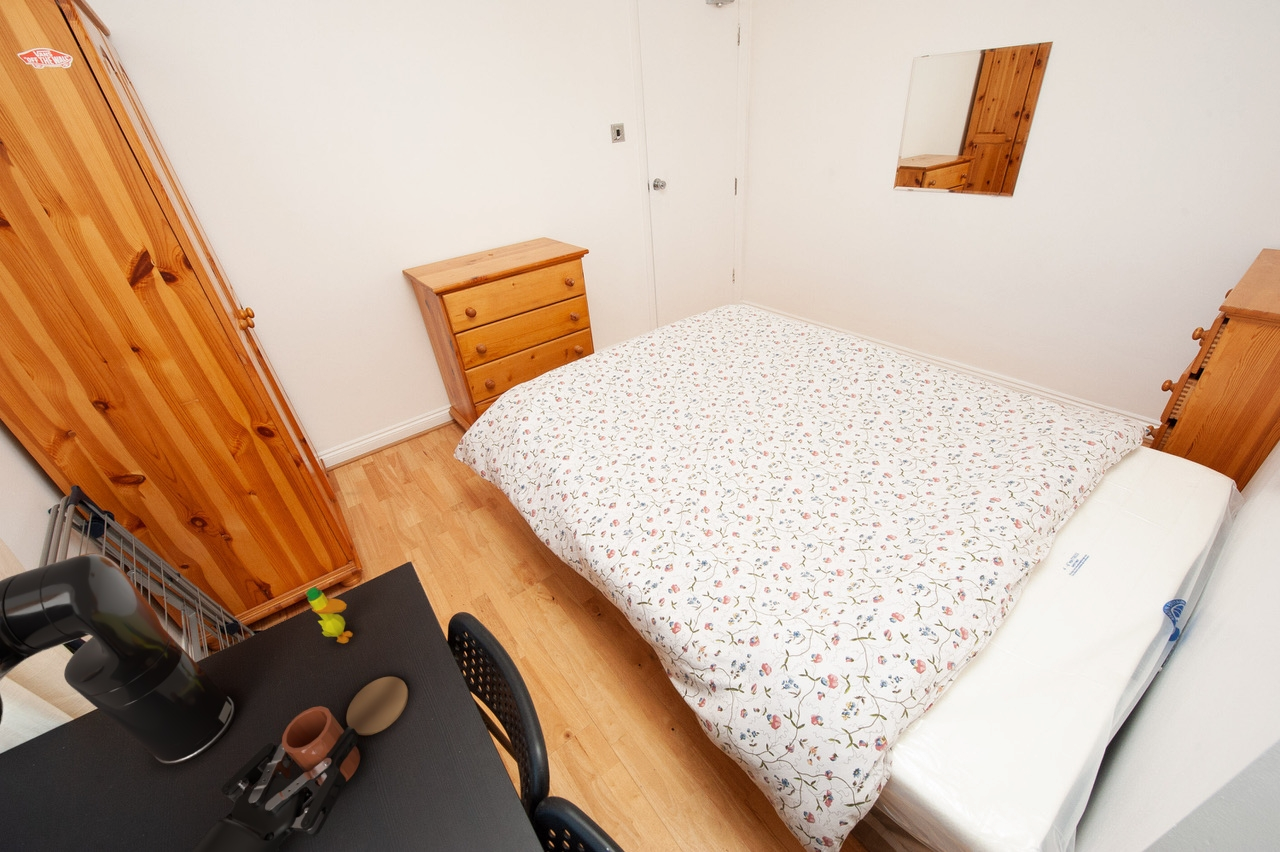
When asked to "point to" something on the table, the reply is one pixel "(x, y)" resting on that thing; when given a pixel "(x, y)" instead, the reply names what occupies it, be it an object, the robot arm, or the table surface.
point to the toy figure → (329, 614)
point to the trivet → (377, 705)
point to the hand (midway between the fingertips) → (335, 724)
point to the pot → (316, 740)
